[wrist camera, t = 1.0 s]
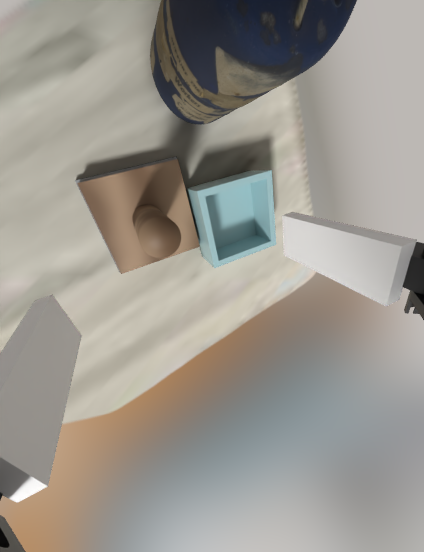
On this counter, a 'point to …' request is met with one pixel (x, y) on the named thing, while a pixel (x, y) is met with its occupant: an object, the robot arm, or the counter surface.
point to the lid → (142, 214)
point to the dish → (233, 216)
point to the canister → (237, 50)
